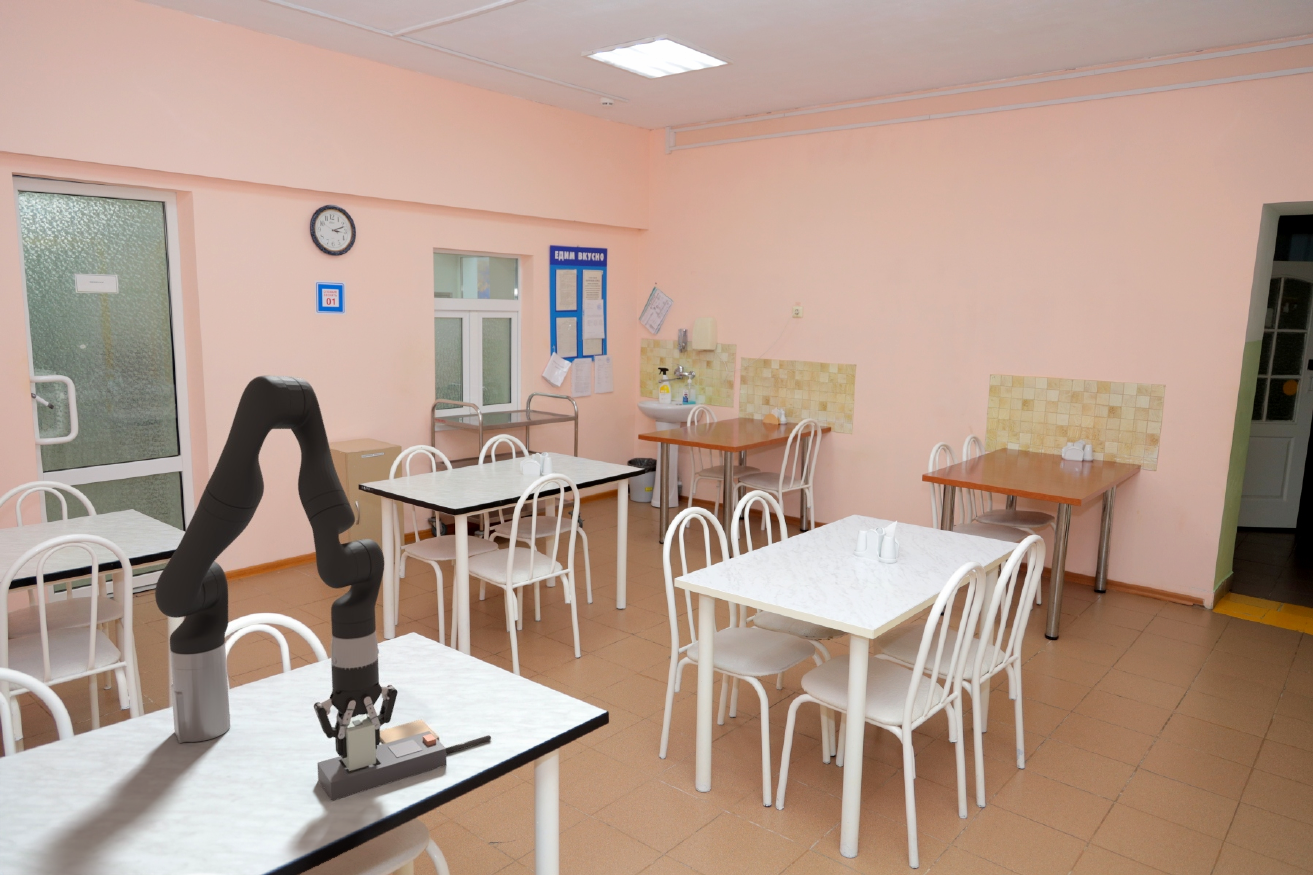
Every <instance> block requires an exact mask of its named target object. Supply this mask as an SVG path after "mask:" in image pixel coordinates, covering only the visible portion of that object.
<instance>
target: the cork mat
mask: <svg viewBox="0 0 1313 875" xmlns="http://www.w3.org/2000/svg"><path fill="white" fill-rule="evenodd" d="M427 731H430V732H431V733H432V734H433V735H434V736H435V737H436V738H437V739H438V740H439V741H440V736H439V735H438V734H437V733H436V732H435V731H434V730H433V729H432V728H431V727H430V726H429V725H428V724H427V723H426V721H424V720H423V719H418V720H414V721H410V722H407V723H404V724H400V725H395V726H392V727H389V728H385V729H382V730H381V729H380V742H381V743H382V744H385V743H388V742H392V741H395V740H399V739H402V738H406V737H410V736H413V735H417V734H420V733H424V732H427Z"/></svg>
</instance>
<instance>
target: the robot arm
mask: <svg viewBox="0 0 1313 875" xmlns="http://www.w3.org/2000/svg"><path fill="white" fill-rule="evenodd" d="M238 402H239V403H238V404H237V405H238V406H237V407H236V411H235V415H234V417H233V421H232V422H231V426H230V430H229V433H228V436H227V439H226V442H225V444H224V447H223V449H222V452H221V454H220V456H219V458H218V461H217V463H216V465H215V468H214V470H213V472H212V474H211V475H210V478H209V479H208V482H207V484H206V486H205V489H204V490H203V493H202V495H201V497H200V499H199V502H198V504H197V507H196V509H195V511H194V513H193V516H192V518H191V519H190V522H189V524H188V525H187V528H186V530H185V532H184V535H183V537H182V538H181V540H180V542H179V544H178V546H176V550H175V551H174V552H173V554H172V555H171V557H170V559H169V561H168V562H167V564H166V565H165V567H164V569H163V570H162V572H161V573H160V575H159V577H158V579H157V582H156V585H155V591H154V598H155V603H156V605H157V608H158V610H160V612H161V613H162V614H163V615H165V616H166V617H170V618H175V619H176V618H184V619H183V620H182V622H181V623H180V624H179V625H178V626H177V628H175V630H173V631H172V632H171V634H170V636H169V650H170V662H171V663H170V664H171V675H172V676H171V677H172V680H171V681H172V683H171V687H170V688H171V698H172V700H171V701H172V713H173V726H174V733H175V736H176V738H177V741H178V742H177V743H178V744H181V743H186V742H187V743H188V742H194V743H195V742H203V741H208V740H212V739H214V738H217V737H219V736H221V735H223V734H225V733H226V732H227V731H229V729H230V728H231V712H230V700H229V698H230V697H229V685H228V684H229V682H228V668H227V667H228V666H227V665H228V664H227V654H226V632H227V630H228V626H229V586H228V585H229V584H228V579H227V576H226V574H225V570H224V569H223V567H222V566H221V565H220V564H219V563H218V562H217V561H216V560H217V558H219V556H221V554H223V552H224V551H225V550H227V548H229V547H230V545H232V543H233V542H234V541H235V540H236V539H237V538H238V537H239V536H240V535H242V533H243V532H244V530H246V528H247V527H248V525H249V524H250V522H251V521H252V519H253V517H254V516H255V514H256V511H257V509H258V507H259V505H260V503H261V500H262V498H263V496H264V493H265V492H264V490H265V483H264V477H263V474H262V469H261V465H260V461H259V460H260V459H259V456H260V451H261V450H262V448H263V444H264V442H265V440H266V439H267V437H268V434H269V433H270V432H271V431H272V430H291V431H292V433H293V435H294V436H295V438H296V441H297V442H298V445H299V450H300V457H301V458H300V467H299V472H298V480H297V490H298V495H299V500H300V502H301V506H302V508H303V510H304V513H305V515H306V517H307V521H308V522H309V525H310V526H311V528H312V529H311V530H312V535H313V543H314V550H315V561H316V570H317V573H318V576H319V577H320V580H321V581H322V582H323V583H324V584H325V585H327V587H330V588H331V589H343V588H346V587H350V588H349V590H348V591H347V592H346V593H344V594H343V595H341V596H340V597H338V598H337V599H335V600H334V601H333V602H332V604H331V607H330V619H331V621H330V622H331V641H330V642H331V643H330V657H331V658H330V660H331V661H330V663H331V664H330V665H331V686H332V687H331V688H332V690H331V694H330V696H329V698H328V699H327V700H324V701H322V702H319V701H317V702H315V703H314V704H313V709H314V711H315V714H316V717H317V719H318V722H319V725H320V727H321V729H322V731H323V733H324V734H325V736H326V738H327V739H332V738H335V740H334V741H335V751H336V753H337V755H338V757H339V756H341V757H342V758H347V744H346V737H345V734H346V729H347V727H348V726H349V724H350V721H351V719H352V718H356V717H358V716H359V715H361V716H364V715H366V716H367V718H369V719H370V721H371V723H374V724H375V747H376V749H377V746H378V745H381V744H380V743H381V740H380V731H381V727H382V726H383V725H384V724H388V723H390V722H391V719H392V715H393V712H394V707H395V704H396V700H397V697H398V696H397V695H398V690H397V689H396V688H395V687H394V686H393V685H392V684H387V686H381V684H380V679H379V678H380V676H379V653H380V652H379V651H380V650H379V645H378V637H377V629H376V624H377V623H376V622H377V621H376V606H377V604H376V603H377V600H378V597H379V593H380V589H381V586H382V585H381V584H382V579H383V576H384V573H385V572H384V571H385V556H384V552H383V550H382V548H381V546H380V545H379V544H378V542H376V541H375V540H373V539H370V538H362V539H356V540H353V541H350V542H345V543H342V542H341V541H340V535H341V534H342V533H344V532H347V531H348V530H349V529H351V528H352V527H353V525H355V522H356V517H355V513H354V511H353V508H352V506H351V503H350V501H349V499H348V497H347V495H346V491H345V490H344V487H343V485H342V483H341V481H340V478H339V476H338V472H337V470H336V467H335V464H334V461H333V456H332V453H331V448H330V444H329V439H328V436H327V431H326V427H325V423H324V419H323V415H322V411H321V407H320V404H319V401H318V398H317V394H316V392H315V390H314V388H313V387H312V385H311V384H310V383H309V381H307V380H305V379H304V378H300V377H295V376H284V375H283V376H282V375H281V376H280V375H260V376H256V377H254V378H253V379H251V380H250V381H249V382H248V384H247V385H246V387H245V388H244V389H243V392H242V393H241V397H240V398H239V401H238ZM380 696H381V698H382V703H381V706H380V711H379V714H377V711H376V709H375V705H376V703H377V701H378V699H379V697H380ZM332 707H334V708H335V709H336V710H337V714H336V717H335V718H336V721H335V725H334V726H332V724H331V721H330V719H329V716H328V715H330V713H331V708H332Z"/></svg>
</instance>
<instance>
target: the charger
mask: <svg viewBox="0 0 1313 875" xmlns="http://www.w3.org/2000/svg"><path fill="white" fill-rule="evenodd" d="M345 737H346V744H347V758H342V757H341V759H342V761H343V763H344V764H345V765H346V767H347V768H348V770H349V771H351V770H355V769H358V768H361V767H365V766H368V765H372V764H375V763H376V747H375V724H374V723H371V721H370V719H369V718H367V716H366V714H364V715H361V716H355V717H352V718H351V721H350V724H349V726H348V727H347V729H346V734H345Z"/></svg>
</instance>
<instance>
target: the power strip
mask: <svg viewBox="0 0 1313 875" xmlns="http://www.w3.org/2000/svg"><path fill="white" fill-rule="evenodd" d="M491 739H492V736H491V735H484V736H481V737H478V738H476V739H471V740H469V741H468V740H467V741H465V742H461V743H459V744H455V745H451V746H447V747H446V746H445V745H444V744H442V743H441V742H440V739H439V740H438V739H437V738H436V737H435V736H434V735H433V734H432V733H431V732H430V731H427V732H424V733H420V734H417V735H413V736H410V737H406V738H402V739H399V740H395V741H392V742H388V743H385V744H384V743H382V744H379V745H377V749H376V763H375V764H372V765H368V766H365V767H361V768H358V769H355V770H351V771H349V770H348V768H347V767H346V765H345V764H344V763H343V761H342V759H341V756H339V755H338V756H337V757H333V758H329V759H325V760H321V761H318V762H317V780H318V782H319V783H320V785H321V787H322V788H323V790H324V791H325V793H326V794H327V796H328V797H329V799H330V801H331V802H332V801H337V800H340V799H342V798H345V797H349V796H352V795H355V794H359V793H362V792H364V791H365V792H366V791H368V790H371V789H374V788H377V787H382V786H383V785H387V784H391V783H394V782H397V781H400V780H403V779H406V778H410V777H412V776H417V775H419V774H422V773H427V772H429V771H432V770H435V769H436V770H437V769H438V768H441V767H444V766H445V767H446V766H447V764H448V763H447V754H450V753H454V752H457V751H460V750H464V749H466V748H470V747H473V746H477V745H480V744H483V743H487V742H490V741H491Z"/></svg>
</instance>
